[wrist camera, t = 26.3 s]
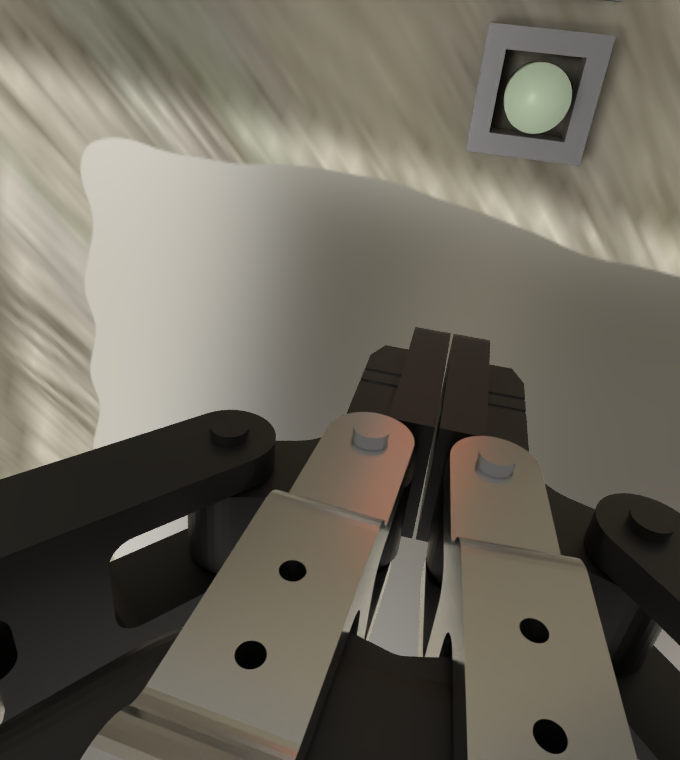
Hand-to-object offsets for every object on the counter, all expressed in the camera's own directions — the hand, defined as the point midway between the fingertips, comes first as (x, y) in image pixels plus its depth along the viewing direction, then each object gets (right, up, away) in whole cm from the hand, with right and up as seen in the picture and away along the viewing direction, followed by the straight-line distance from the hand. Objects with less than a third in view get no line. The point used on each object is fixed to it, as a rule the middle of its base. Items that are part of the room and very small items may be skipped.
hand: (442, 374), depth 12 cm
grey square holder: (+12, +20, +31) cm, 39 cm away
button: (+12, +20, +30) cm, 38 cm away
